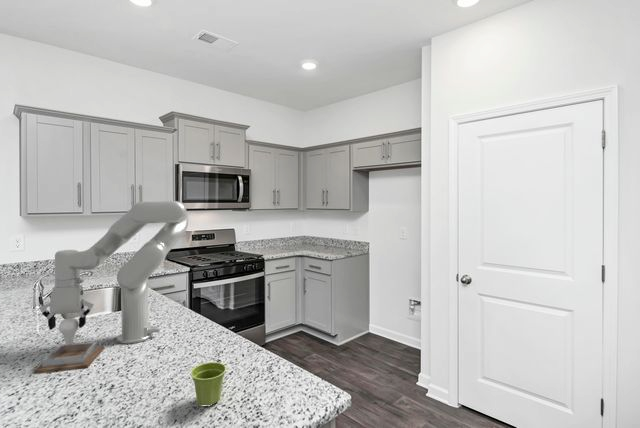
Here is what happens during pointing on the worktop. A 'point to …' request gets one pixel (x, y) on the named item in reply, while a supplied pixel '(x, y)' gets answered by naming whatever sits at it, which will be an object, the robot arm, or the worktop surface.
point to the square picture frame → (70, 360)
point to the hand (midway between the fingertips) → (67, 327)
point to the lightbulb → (69, 329)
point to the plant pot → (208, 382)
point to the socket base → (70, 367)
